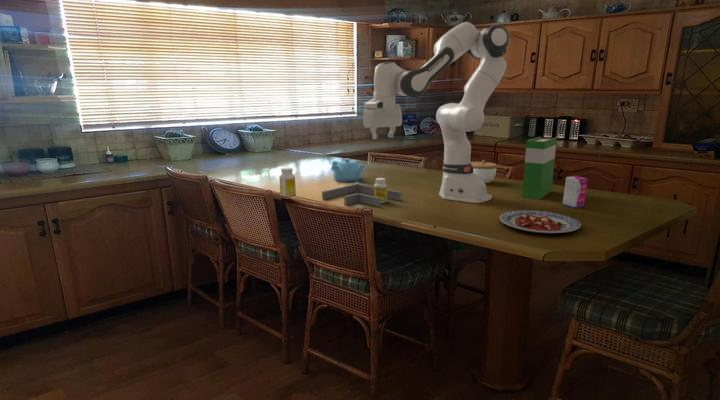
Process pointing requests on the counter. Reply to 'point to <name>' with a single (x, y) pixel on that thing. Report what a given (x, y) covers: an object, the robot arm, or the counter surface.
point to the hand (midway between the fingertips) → (382, 138)
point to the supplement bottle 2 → (380, 189)
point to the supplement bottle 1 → (287, 182)
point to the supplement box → (575, 191)
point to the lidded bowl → (485, 170)
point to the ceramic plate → (540, 221)
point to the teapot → (347, 170)
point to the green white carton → (539, 167)
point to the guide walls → (359, 197)
